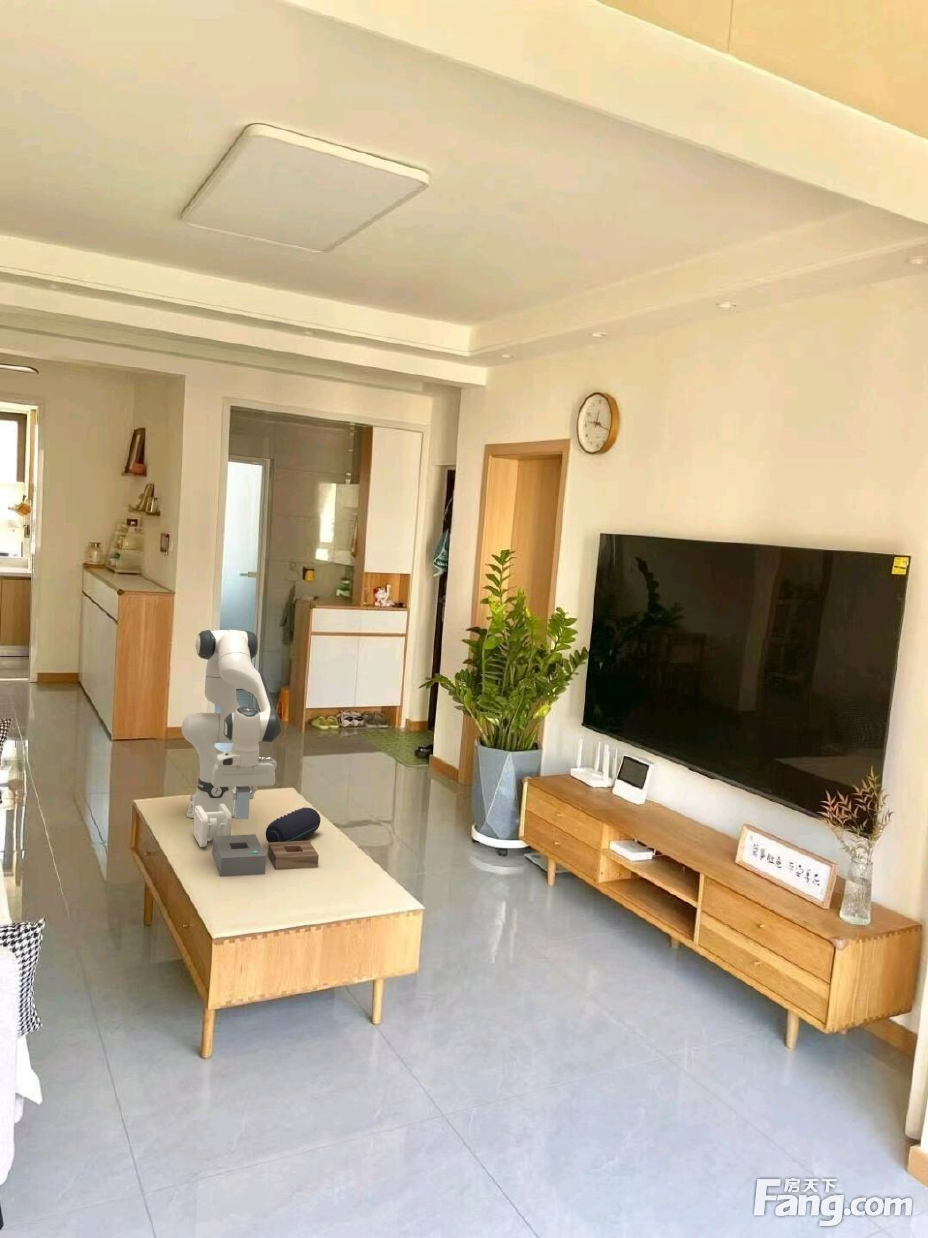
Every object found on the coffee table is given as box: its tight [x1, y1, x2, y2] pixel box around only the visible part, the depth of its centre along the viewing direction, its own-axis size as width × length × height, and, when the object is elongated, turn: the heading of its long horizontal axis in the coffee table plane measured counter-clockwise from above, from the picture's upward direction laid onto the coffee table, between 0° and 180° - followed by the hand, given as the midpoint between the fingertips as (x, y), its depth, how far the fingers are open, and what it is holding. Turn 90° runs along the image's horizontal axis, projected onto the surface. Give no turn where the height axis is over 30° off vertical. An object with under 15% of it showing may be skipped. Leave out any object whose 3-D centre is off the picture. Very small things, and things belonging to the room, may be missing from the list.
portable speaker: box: [265, 807, 322, 844], centre depth 339 cm, size 25×10×10 cm, turn 157°
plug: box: [233, 786, 251, 820], centre depth 313 cm, size 4×4×10 cm
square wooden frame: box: [267, 840, 319, 870], centre depth 322 cm, size 14×14×4 cm
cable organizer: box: [192, 804, 233, 848], centre depth 331 cm, size 15×11×12 cm
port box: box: [211, 833, 267, 877], centre depth 315 cm, size 20×14×6 cm
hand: (242, 799), depth 312 cm, fingers closed on plug, 4 cm apart
